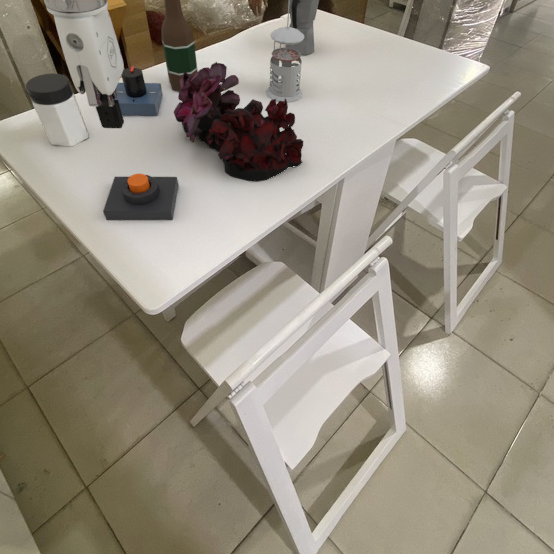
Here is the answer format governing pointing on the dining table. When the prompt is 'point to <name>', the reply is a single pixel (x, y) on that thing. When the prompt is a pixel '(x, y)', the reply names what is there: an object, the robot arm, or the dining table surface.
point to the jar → (57, 109)
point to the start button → (138, 183)
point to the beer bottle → (177, 44)
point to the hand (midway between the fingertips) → (113, 125)
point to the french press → (285, 65)
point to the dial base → (140, 100)
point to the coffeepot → (303, 23)
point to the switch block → (142, 200)
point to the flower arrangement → (237, 126)
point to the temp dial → (134, 82)
